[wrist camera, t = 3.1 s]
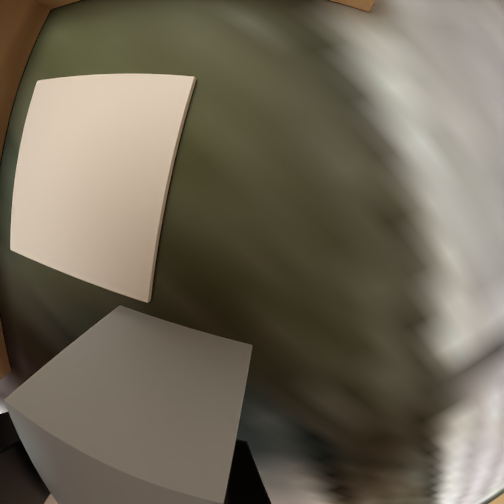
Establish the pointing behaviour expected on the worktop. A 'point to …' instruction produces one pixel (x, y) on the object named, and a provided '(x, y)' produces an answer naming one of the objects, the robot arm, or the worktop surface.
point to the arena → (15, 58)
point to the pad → (98, 175)
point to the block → (135, 413)
